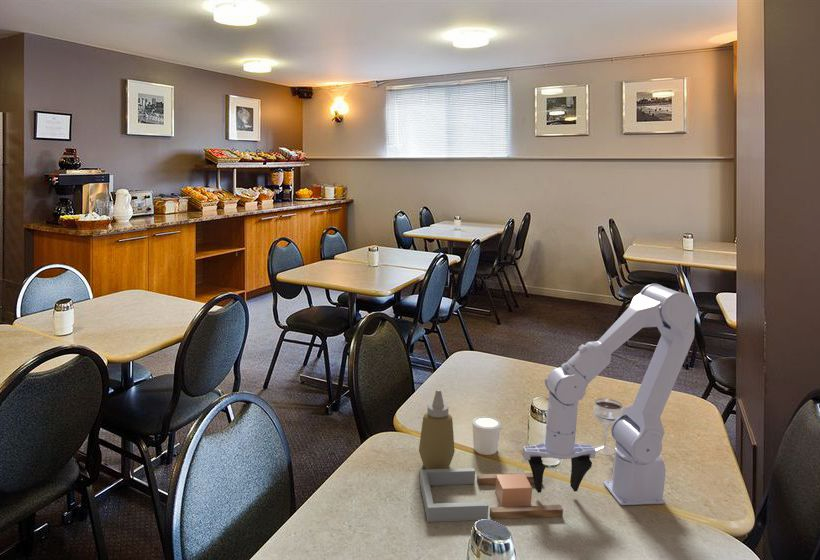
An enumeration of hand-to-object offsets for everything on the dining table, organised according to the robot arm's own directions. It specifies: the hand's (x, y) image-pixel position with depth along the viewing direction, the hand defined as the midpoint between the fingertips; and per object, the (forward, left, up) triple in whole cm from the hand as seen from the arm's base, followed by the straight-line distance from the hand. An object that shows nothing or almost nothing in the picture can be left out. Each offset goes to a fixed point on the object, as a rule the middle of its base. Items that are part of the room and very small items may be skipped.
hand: (555, 489), depth 107 cm
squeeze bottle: (+23, -13, -2) cm, 26 cm away
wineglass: (-19, -18, -2) cm, 26 cm away
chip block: (+9, 0, -2) cm, 9 cm away
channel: (+8, 0, -2) cm, 8 cm away
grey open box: (+21, 0, -2) cm, 21 cm away
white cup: (+10, -20, -2) cm, 22 cm away
